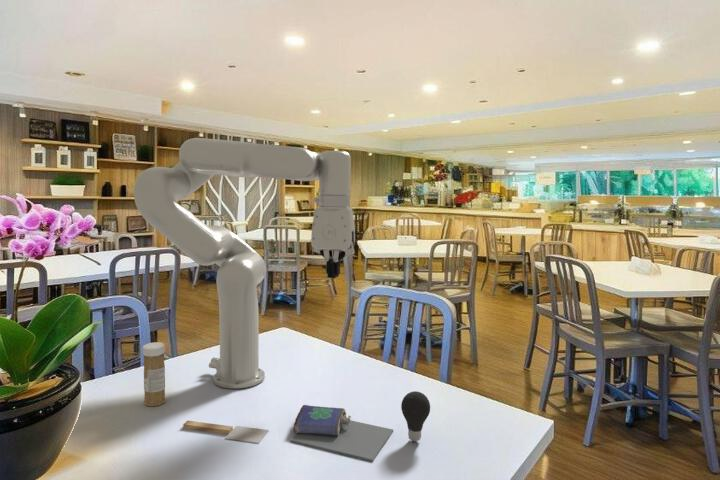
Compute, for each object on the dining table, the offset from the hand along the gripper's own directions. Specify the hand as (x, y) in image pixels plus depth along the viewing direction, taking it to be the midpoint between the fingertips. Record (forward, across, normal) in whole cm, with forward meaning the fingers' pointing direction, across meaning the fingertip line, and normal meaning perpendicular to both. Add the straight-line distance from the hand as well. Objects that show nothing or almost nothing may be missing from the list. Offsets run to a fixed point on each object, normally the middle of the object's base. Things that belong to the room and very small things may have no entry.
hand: (333, 277), depth 119 cm
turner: (+27, -8, -31) cm, 42 cm away
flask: (+25, +3, -23) cm, 34 cm away
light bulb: (+27, +27, -19) cm, 43 cm away
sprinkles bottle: (+27, -31, -27) cm, 49 cm away
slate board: (+27, +14, -23) cm, 38 cm away
